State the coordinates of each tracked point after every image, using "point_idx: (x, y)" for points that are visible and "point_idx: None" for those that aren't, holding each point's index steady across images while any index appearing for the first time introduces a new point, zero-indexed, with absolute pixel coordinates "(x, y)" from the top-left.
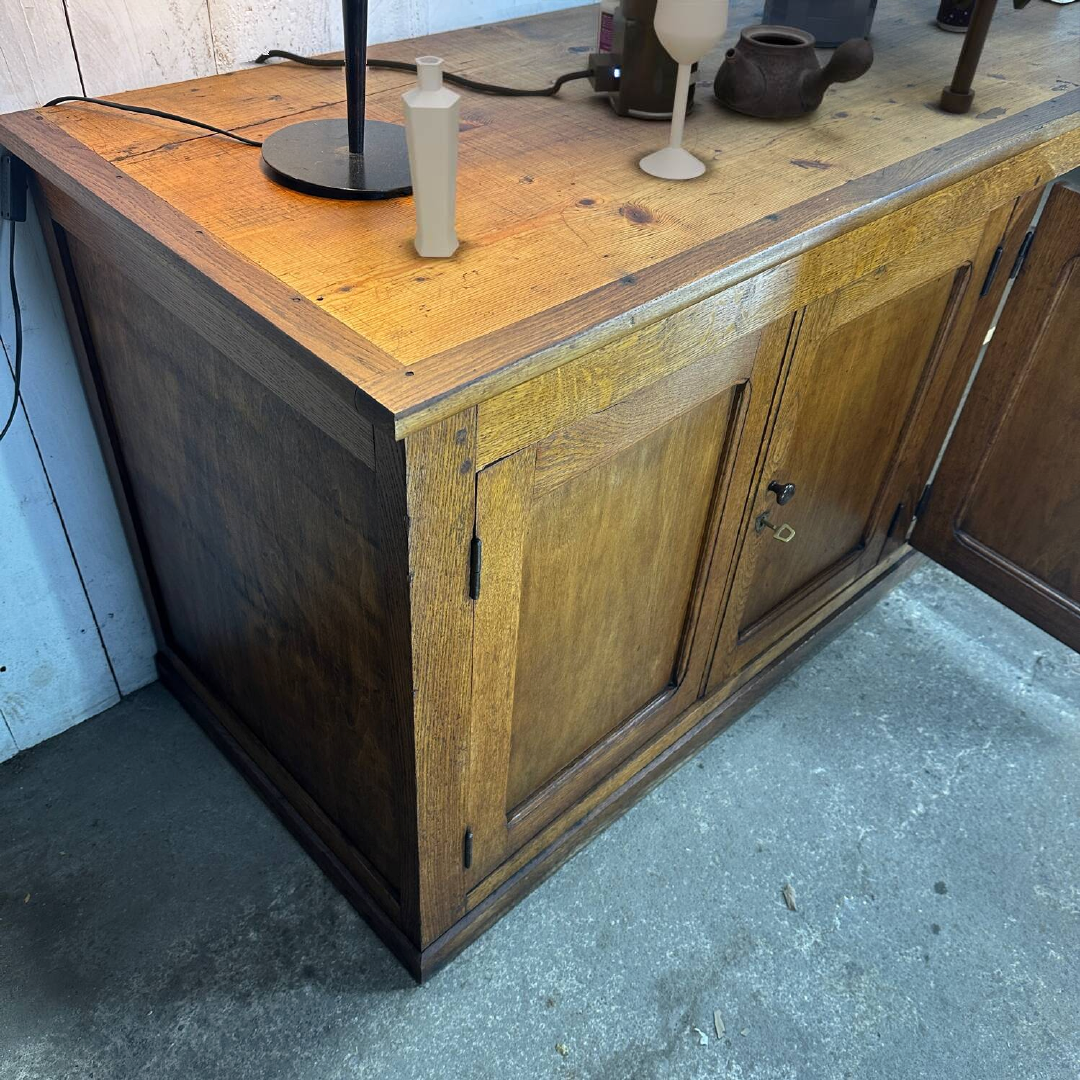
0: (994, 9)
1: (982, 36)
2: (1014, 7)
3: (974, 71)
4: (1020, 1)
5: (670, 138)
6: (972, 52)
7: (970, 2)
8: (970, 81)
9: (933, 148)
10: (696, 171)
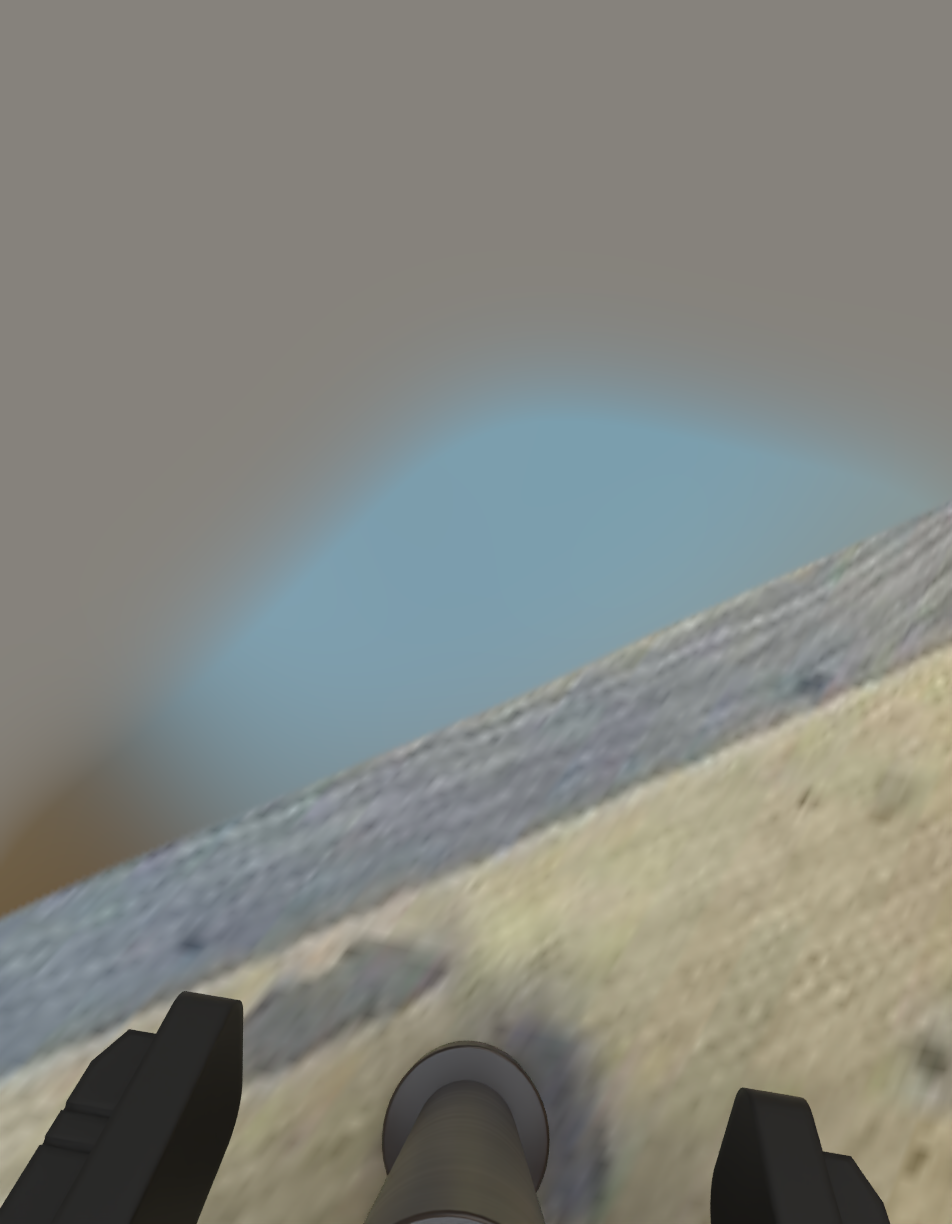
0: (419, 1146)
1: (464, 1113)
2: (233, 1125)
3: (441, 1096)
4: (229, 1070)
5: None
6: (497, 1112)
7: (737, 1106)
8: (452, 1087)
9: (819, 698)
10: None
